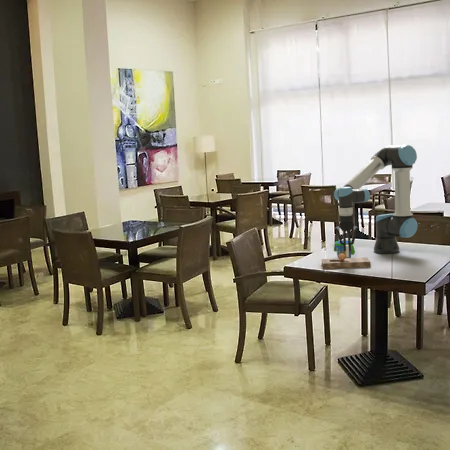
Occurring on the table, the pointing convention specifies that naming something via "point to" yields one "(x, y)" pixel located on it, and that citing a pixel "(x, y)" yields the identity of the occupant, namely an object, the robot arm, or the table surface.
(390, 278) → the table surface
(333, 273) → the table surface
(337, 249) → the snack cup
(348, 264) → the light wood flat slab
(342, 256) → the ball
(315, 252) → the table surface
